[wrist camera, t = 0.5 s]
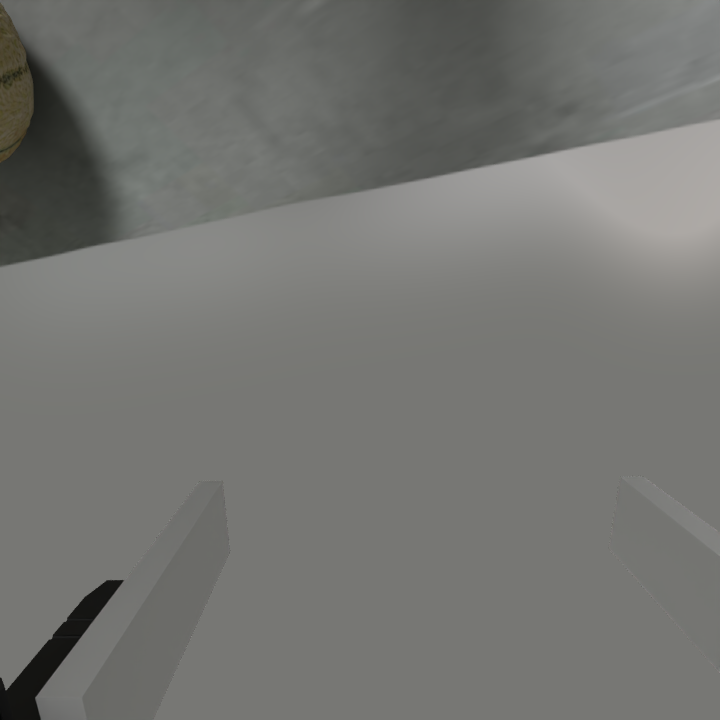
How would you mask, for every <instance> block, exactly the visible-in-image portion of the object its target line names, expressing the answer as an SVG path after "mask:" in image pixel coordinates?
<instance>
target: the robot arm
mask: <svg viewBox="0 0 720 720" xmlns="http://www.w3.org/2000/svg"><path fill="white" fill-rule="evenodd" d="M609 550H610V551H611V552H612V553H613V554H614V555H615V557H616V558H617V559H618V560H619V561H620V562H621V563H622V564H623V565H624V567H625V568H626V569H627V570H628V571H629V572H630V573H631V574H632V576H633V577H634V578H635V579H636V580H637V581H638V582H639V583H640V585H641V586H643V588H644V589H645V590H646V591H647V592H648V594H649V595H650V596H651V597H652V598H653V599H654V600H655V601H656V603H657V604H658V605H659V606H660V607H661V608H662V609H663V610H664V612H665V613H666V614H667V615H668V616H669V617H670V618H671V619H672V621H673V622H674V623H675V624H676V625H677V626H678V627H679V628H680V630H681V631H682V632H683V633H684V634H685V635H686V636H687V637H688V638H689V640H690V641H691V642H692V643H693V644H694V645H695V646H696V648H697V649H698V650H699V651H700V652H701V653H702V654H703V655H704V657H706V659H707V660H708V661H709V662H710V663H711V664H712V665H713V667H714V668H715V669H716V670H717V671H718V672H719V673H720V532H718V531H717V530H715V529H714V528H713V527H711V526H710V525H709V524H707V523H706V522H704V521H703V520H702V519H701V518H699V517H698V516H696V515H695V514H694V513H692V512H691V511H689V510H688V509H687V508H686V507H684V506H683V505H681V504H680V503H678V502H677V501H676V500H675V499H673V498H672V497H670V496H669V495H668V494H666V493H665V492H663V491H662V490H661V489H660V488H658V487H657V486H655V485H654V484H653V483H651V482H650V481H648V480H647V479H646V478H644V477H643V476H642V477H641V476H640V477H620V479H619V486H618V492H617V498H616V505H615V511H614V517H613V523H612V530H611V537H610V542H609ZM229 553H230V548H229V537H228V528H227V518H226V508H225V500H224V489H223V481H199V482H198V484H197V485H196V486H195V488H194V489H193V491H192V492H191V493H190V494H189V496H188V497H187V498H186V500H185V501H184V503H183V504H182V505H181V506H180V508H179V509H178V510H177V511H176V513H175V514H174V515H173V517H172V518H171V519H170V521H169V522H168V523H167V525H166V526H165V527H164V529H163V530H162V531H161V533H160V534H159V535H158V537H157V538H156V539H155V540H154V542H153V543H152V544H151V546H150V547H149V548H148V550H147V551H146V552H145V554H144V555H143V556H142V558H141V559H140V560H139V562H138V563H137V565H136V566H135V567H134V568H133V570H132V571H131V572H130V573H129V575H128V576H127V577H126V579H125V580H107V581H106V582H104V583H103V584H102V585H101V586H99V587H98V588H96V589H95V590H94V591H92V592H91V593H90V594H89V595H87V596H86V597H85V598H84V599H83V600H82V601H81V602H80V604H79V605H78V606H77V607H76V608H75V609H74V611H73V612H72V613H71V614H70V615H69V617H68V618H67V621H66V622H64V623H63V624H62V625H61V626H60V627H59V628H58V630H57V631H56V632H55V633H54V634H53V638H52V639H51V640H48V642H47V643H46V644H45V645H44V646H43V648H42V649H41V650H40V651H39V652H38V654H37V655H36V656H35V657H34V658H33V659H32V661H31V662H30V663H29V664H28V665H27V667H26V668H25V669H24V670H23V671H22V673H21V674H20V675H19V676H18V677H17V679H16V680H15V681H14V682H13V683H12V684H11V686H10V687H9V688H8V689H7V690H5V687H4V684H3V681H2V678H0V720H153V719H154V717H155V715H156V713H157V710H158V708H159V706H160V704H161V702H162V699H163V697H164V695H165V693H166V691H167V688H168V686H169V684H170V682H171V680H172V678H173V676H174V673H175V671H176V669H177V667H178V665H179V662H180V660H181V658H182V656H183V654H184V652H185V649H186V647H187V645H188V643H189V641H190V638H191V636H192V634H193V632H194V630H195V628H196V625H197V623H198V621H199V619H200V617H201V615H202V612H203V610H204V608H205V606H206V604H207V601H208V599H209V597H210V595H211V593H212V590H213V588H214V586H215V584H216V582H217V580H218V577H219V575H220V573H221V571H222V569H223V567H224V564H225V562H226V560H227V558H228V556H229Z"/></svg>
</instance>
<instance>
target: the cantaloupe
mask: <svg viewBox="0 0 720 720" xmlns="http://www.w3.org/2000/svg"><path fill="white" fill-rule="evenodd" d="M33 112H34V95H33V80H32V76H31V73H30V70H29V67H28V64H27V61H26V51H25V48H24V47H23V45H22V43H21V41H20V38H19V36H18V33H17V31H16V29H15V27H14V25H13V23H12V20H11V18H10V16H9V15H8V14H7V12H6V11H5V9H4V7H3V5H2V4H1V3H0V163H1V162H2V161H4V160H6V159H7V158H9V157H10V156H11V155H12V154H13V152H14V151H15V150H16V148H18V147H19V146H20V143H21V141H22V139H23V138H24V136H25V135H26V133H27V128H28V127H29V125H30V120H31V117H32V115H33Z"/></svg>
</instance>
